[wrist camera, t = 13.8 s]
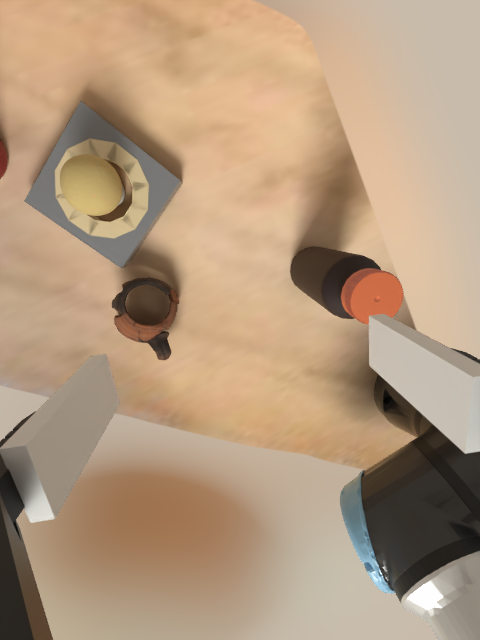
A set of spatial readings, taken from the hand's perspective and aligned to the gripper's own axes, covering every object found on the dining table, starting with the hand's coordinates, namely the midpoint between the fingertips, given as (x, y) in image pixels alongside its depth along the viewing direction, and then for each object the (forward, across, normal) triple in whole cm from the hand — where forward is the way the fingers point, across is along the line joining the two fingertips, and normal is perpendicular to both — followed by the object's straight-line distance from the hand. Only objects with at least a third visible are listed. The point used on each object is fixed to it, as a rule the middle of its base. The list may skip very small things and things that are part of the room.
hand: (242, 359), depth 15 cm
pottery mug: (+32, +12, +5) cm, 35 cm away
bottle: (+32, -13, +1) cm, 34 cm away
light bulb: (+32, +14, -13) cm, 37 cm away
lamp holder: (+32, +14, -13) cm, 37 cm away
